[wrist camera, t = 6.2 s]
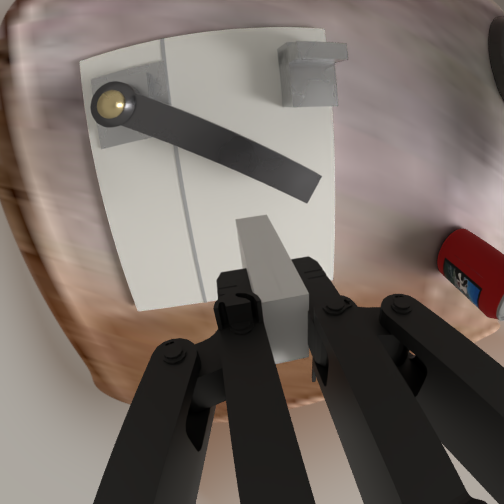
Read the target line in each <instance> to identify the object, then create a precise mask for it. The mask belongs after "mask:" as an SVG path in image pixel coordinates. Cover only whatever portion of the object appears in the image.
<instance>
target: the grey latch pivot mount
mask: <svg viewBox="0 0 504 504" xmlns="http://www.w3.org/2000/svg"><path fill="white" fill-rule="evenodd" d="M113 81H118V82H123V83H126V84H129V85H132V86H133V87H135V88H136V89H137V90H138V92H139V93H140V94H141V95H144V96H147V97H149V98H152V99H155V100H158V101H160V102H163V103H166V104H168V105H169V97H168V89H167V81H166V72H165V63H164V61H159V62H154V63H150V64H145V65H141V66H136V67H132V68H128V69H125V70H121V71H117V72H114V73H110V74H107V75H103V76H100V77H97V78H93V79H91V86H92V94H93V95H94V94H95V92H96V91H97V90H98V89H99V88H100V87H101V86H102V85H104V84H106V83H108V82H113ZM97 128H98V134H99V140H100V145H101V149H105V148H109V147H113V146H117V145H121V144H125V143H129V142H134V141H138V140H143V139H148V138H152V137H151V136H149V135H146V134H143V133H141V132H138V131H135V130H132V129H130V128H127V127H124V126H117V127H112V128H108V127H103V126H101V125H99V124H98V123H97Z"/></svg>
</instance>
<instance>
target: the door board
mask: <svg viewBox="0 0 504 504" xmlns="http://www.w3.org/2000/svg"><path fill="white" fill-rule="evenodd" d="M296 41H316V42H326V36H325V29H321V28H300V27H262V28H241V29H228V30H218V31H209V32H201V33H193V34H187V35H181V36H175V37H169V38H163V39H159V40H154V41H149V42H145V43H141V44H137V45H133V46H129V47H125V48H121V49H117V50H114V51H110V52H107V53H104V54H101V55H97V56H94V57H91V58H88V59H85V60H82V61H80V73H81V83H82V92H83V99H84V107H85V114H86V120H87V126H88V132H89V138H90V143H91V149H92V154H93V159H94V164H95V168H96V173H97V178H98V182H99V186H100V190H101V195H102V199H103V203H104V206H105V210H106V214H107V218H108V221H109V225H110V229H111V232H112V235H113V239H114V242H115V246H116V249H117V252H118V255H119V258H120V262H121V265H122V268H123V271H124V274H125V277H126V280H127V283H128V285H129V288H130V291H131V294H132V297H133V299H134V302H135V305H136V307H137V310H138V311H145V310H153V309H160V308H168V307H175V306H182V305H189V304H196V303H202V302H204V303H205V302H209V301H215V300H218V294H217V282H216V280H217V278H218V277H219V275H220V273H221V272H226V271H232V270H237V269H243V268H242V262H241V255H240V248H239V241H238V234H237V228H236V221H235V219H241V218H247V217H253V216H260V215H266V214H267V216H268V218H269V220H270V221H271V223H272V225H273V227H274V229H275V231H276V232H277V234H278V236H279V238H280V240H281V242H282V244H283V245H284V247H285V249H286V251H287V253H288V255H289V257H290V259H296V258H302V257H307V256H309V257H311V258H313V259H314V260H316V261H318V263H319V264H320V266H321V267H322V269H323V270H324V272H325V273H326V275H327V276H328V278H329V279H330V280H333V270H334V242H335V159H334V132H333V113H332V106H320V107H283V104H282V93H281V82H280V72H279V63H278V54H277V49H278V48H279V47H281V46H282V45H283V44H285V43H286V42H296ZM159 61H164V63H165V72H166V81H167V89H168V97H169V105H171V106H174V107H176V108H179V109H181V110H184V111H186V112H189V113H191V114H194V115H196V116H199V117H201V118H204V119H206V120H208V121H211V122H213V123H216V124H218V125H220V126H222V127H225V128H227V129H229V130H232V131H234V132H236V133H238V134H240V135H243V136H245V137H247V138H249V139H251V140H253V141H256V142H258V143H260V144H262V145H264V146H266V147H268V148H270V149H272V150H274V151H276V152H278V153H280V154H282V155H284V156H286V157H288V158H290V159H292V160H294V161H296V162H298V163H300V164H302V165H304V166H306V167H307V168H309V169H311V170H313V171H315V172H316V173H318V174H320V175H321V176H322V178H321V179H320V181H319V183H318V185H317V187H316V189H315V190H314V192H313V194H312V196H311V198H310V200H309V201H308V203H307V204H306V203H304V202H302V201H300V200H298V199H296V198H294V197H292V196H290V195H288V194H286V193H283V192H281V191H279V190H277V189H275V188H273V187H271V186H268V185H266V184H264V183H262V182H260V181H257V180H255V179H253V178H251V177H249V176H246V175H244V174H242V173H240V172H237V171H235V170H233V169H230V168H228V167H226V166H223V165H221V164H219V163H216V162H214V161H212V160H209V159H207V158H204V157H202V156H200V155H197V154H195V153H192V152H190V151H187V150H185V149H182V148H180V147H177V146H175V145H172V144H170V143H167V142H164V141H162V140H159V139H157V138H154V137H152V138H148V139H143V140H138V141H134V142H129V143H125V144H121V145H117V146H113V147H109V148H105V149H101V145H100V140H99V134H98V128H97V122H96V121H95V120H94V118H93V116H92V114H91V108H90V106H91V100H92V97H93V94H92V86H91V79H93V78H97V77H100V76H103V75H107V74H110V73H114V72H117V71H121V70H125V69H128V68H132V67H136V66H141V65H145V64H150V63H154V62H159Z"/></svg>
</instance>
